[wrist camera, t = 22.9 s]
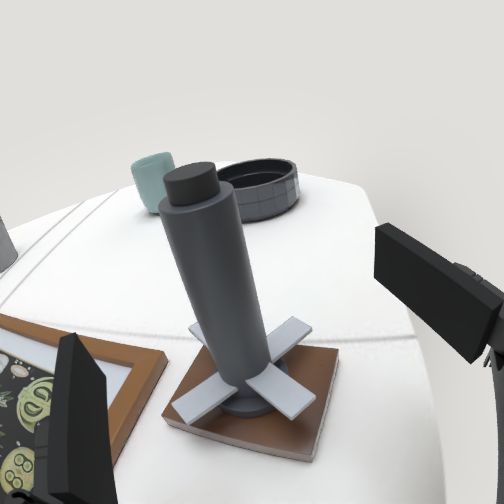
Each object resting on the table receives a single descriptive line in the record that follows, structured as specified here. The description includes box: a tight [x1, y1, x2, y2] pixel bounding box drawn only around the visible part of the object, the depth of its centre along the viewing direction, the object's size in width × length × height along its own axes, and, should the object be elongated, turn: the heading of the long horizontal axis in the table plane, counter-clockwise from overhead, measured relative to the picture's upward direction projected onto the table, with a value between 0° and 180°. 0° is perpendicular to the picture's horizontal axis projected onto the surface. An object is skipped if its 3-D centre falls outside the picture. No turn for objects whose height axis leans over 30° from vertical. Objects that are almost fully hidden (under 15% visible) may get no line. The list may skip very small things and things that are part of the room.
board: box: [161, 345, 339, 462], centre depth 22 cm, size 11×9×2 cm
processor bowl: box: [216, 158, 300, 222], centre depth 52 cm, size 15×15×6 cm
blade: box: [158, 162, 316, 425], centre depth 18 cm, size 11×11×16 cm
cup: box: [131, 152, 175, 213], centre depth 57 cm, size 8×8×10 cm
